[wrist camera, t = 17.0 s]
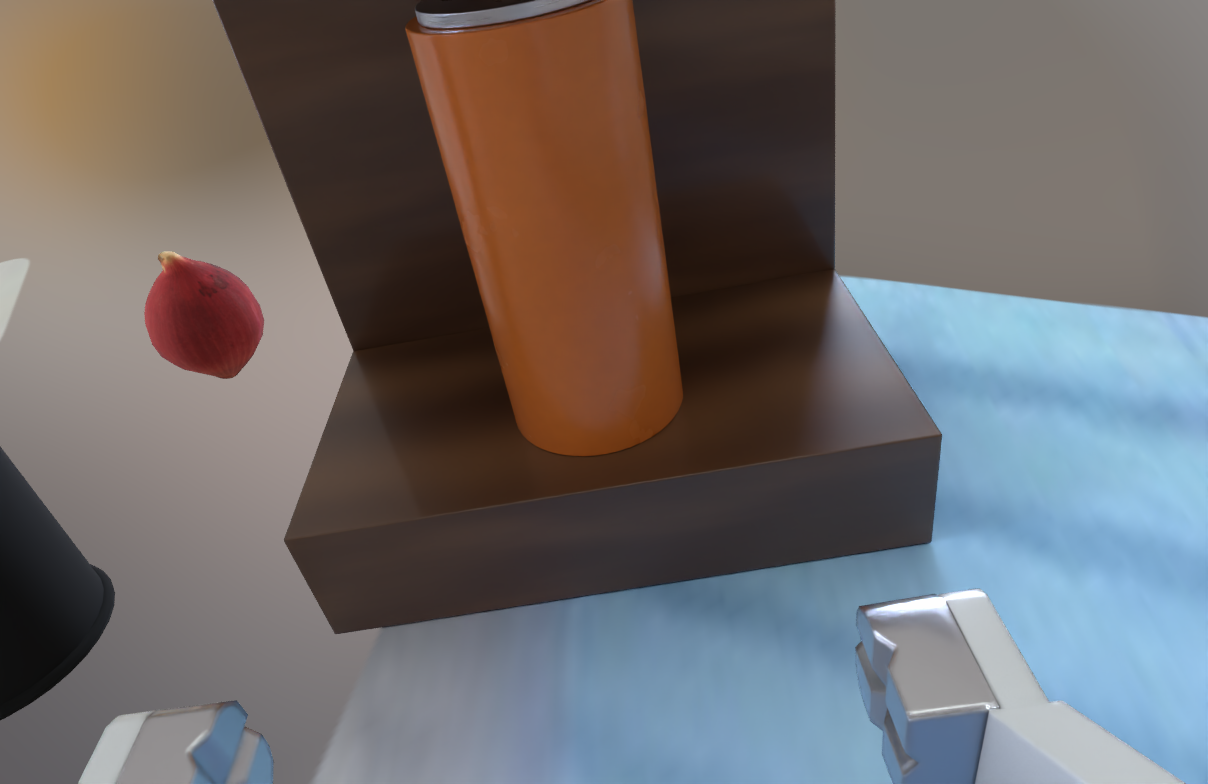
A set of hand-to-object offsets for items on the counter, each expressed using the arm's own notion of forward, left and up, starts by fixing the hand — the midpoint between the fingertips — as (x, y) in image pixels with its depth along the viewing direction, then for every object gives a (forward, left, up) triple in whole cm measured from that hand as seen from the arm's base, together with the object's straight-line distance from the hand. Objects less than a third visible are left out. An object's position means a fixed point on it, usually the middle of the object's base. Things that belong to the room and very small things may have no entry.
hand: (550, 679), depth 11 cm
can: (+10, -15, -9) cm, 20 cm away
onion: (+37, -16, -14) cm, 43 cm away
